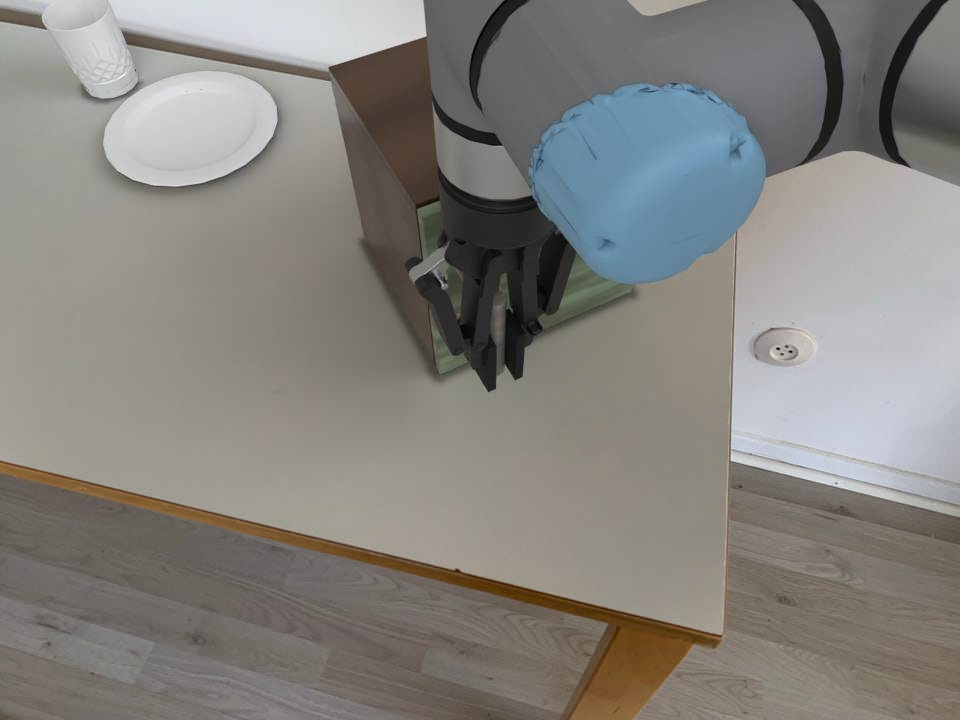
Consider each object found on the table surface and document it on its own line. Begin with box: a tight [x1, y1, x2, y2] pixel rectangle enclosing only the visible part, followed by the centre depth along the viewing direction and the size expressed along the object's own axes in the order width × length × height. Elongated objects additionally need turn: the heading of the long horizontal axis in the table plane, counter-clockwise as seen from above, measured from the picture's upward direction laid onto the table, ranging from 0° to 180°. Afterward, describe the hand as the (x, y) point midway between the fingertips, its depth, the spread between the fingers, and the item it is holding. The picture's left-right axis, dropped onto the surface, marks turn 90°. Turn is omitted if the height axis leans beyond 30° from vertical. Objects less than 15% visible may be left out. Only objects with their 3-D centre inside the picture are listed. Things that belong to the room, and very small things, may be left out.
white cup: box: [41, 0, 139, 100], centre depth 91 cm, size 8×8×10 cm
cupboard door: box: [417, 201, 635, 377], centre depth 63 cm, size 7×22×22 cm, turn 117°
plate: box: [102, 70, 279, 189], centre depth 89 cm, size 21×21×2 cm
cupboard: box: [327, 35, 440, 367], centre depth 69 cm, size 18×22×22 cm
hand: (498, 372), depth 62 cm, fingers closed on cupboard door, 2 cm apart
